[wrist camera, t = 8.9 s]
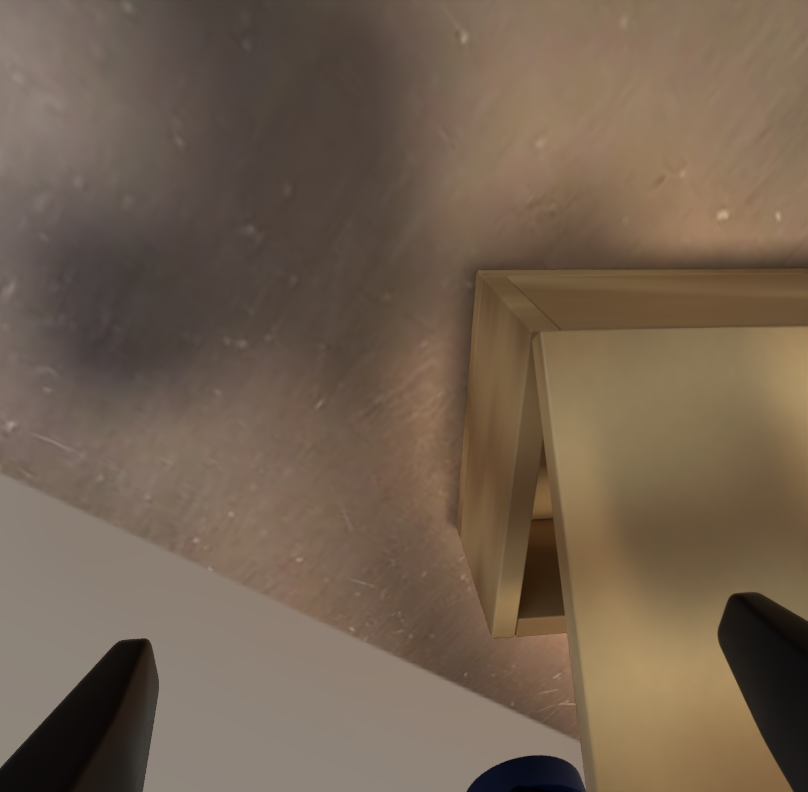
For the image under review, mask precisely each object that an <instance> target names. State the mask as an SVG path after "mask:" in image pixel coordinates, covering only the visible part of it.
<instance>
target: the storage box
mask: <svg viewBox="0 0 808 792" xmlns="http://www.w3.org/2000/svg"><path fill="white" fill-rule="evenodd" d="M778 326H808V268H793V269H604V270H479V271H477V274H476V287H475V299H474V312H473V324H472V337H471V349H470V362H469V374H468V387H467V399H466V412H465V424H464V437H463V450H462V462H461V475H460V487H459V500H458V512H457V525H456V527H457V530H458V533H459V536H460V540H461V543H462V546H463V549H464V552H465V556H466V559H467V562H468V565H469V568H470V571H471V574H472V578H473V581H474V584H475V587H476V590H477V593H478V596H479V599H480V603H481V606H482V609H483V612H484V615H485V618H486V621H487V624H488V628H489V631H490V634H491V637H492V638H505V637H514V636H516V637H521V636H533V635H546V634H558V633H567V627H566V619H565V611H564V603H563V594H562V586H561V578H560V570H559V561H558V553H557V545H556V537H555V528H554V520H553V512H552V504H551V495H550V487H549V479H548V471H547V463H546V454H545V446H544V438H543V430H542V421H541V413H540V405H539V397H538V388H537V380H536V372H535V364H534V355H533V347H532V340H533V338H534V337H535V336H536V335H537V334H538V333H539V332H540V331H556V330H611V329H667V328H722V327H778Z"/></svg>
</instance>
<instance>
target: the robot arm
mask: <svg viewBox="0 0 808 792" xmlns="http://www.w3.org/2000/svg"><path fill="white" fill-rule="evenodd" d="M717 636H718V641H719V645H720V647H721V650H722V652H723V654H724V656H725V658H726V660H727V663H728V665H729V667H730V669H731V671H732V673H733V676H734V678H735V680H736V682H737V684H738V686H739V689H740V691H741V693H742V695H743V697H744V699H745V702H746V704H747V706H748V708H749V710H750V712H751V715H752V717H753V719H754V721H755V723H756V725H757V727H758V729H759V731H760V733H761V735H762V737H763V739H764V741H765V743H766V745H767V747H768V748H769V750H770V752H771V754H772V756H773V758H774V759H775V761H776V763H777V764H778V766H779V768H780V770H781V771H782V773H783V775H784V777H785V778H786V780H787V782H788V784H789V785H790V787H791V789H792V791H793V792H808V621H807V620H805V619H804V618H802V617H800V616H799V615H797V614H795V613H793V612H792V611H790V610H788V609H786V608H785V607H783V606H781V605H780V604H778V603H776V602H774V601H773V600H771V599H769V598H768V597H766V596H764V595H762V594H760V593H757V592H744V593H734V594H732V595H731V596H730V597H729V598H728V600H727V603H726V606H725V609H724V612H723V615H722V618H721V621H720V624H719V627H718V632H717ZM158 691H159V679H158V673H157V669H156V664H155V659H154V654H153V650H152V646H151V643H150V641H149V640H148V639H145V638H144V639H143V638H142V639H129V640H121V641H119V642H117V643H116V644H115V645H114V646H113V647H112V648H111V649H110V650H109V651H108V652H107V653H106V654H105V656H104V657H103V658H102V659H101V660H100V661H99V662H98V663H97V664H96V665H95V666H94V667H93V669H92V670H91V671H90V672H89V673H88V674H87V675H86V676H85V677H84V678H83V679H82V680H81V681H80V682H79V684H78V685H77V686H76V687H75V688H74V689H73V690H72V691H71V692H70V693H69V694H68V695H67V697H66V698H65V699H64V700H63V701H62V702H61V703H60V704H59V705H58V706H57V707H56V708H55V709H54V711H53V712H52V713H51V714H50V715H49V716H48V717H47V718H46V719H45V720H44V721H43V723H42V724H41V725H40V726H39V727H38V728H37V729H36V730H35V731H34V732H33V733H32V734H31V735H30V736H29V738H28V739H27V740H26V741H25V742H24V743H23V744H22V745H21V746H20V747H19V748H18V749H17V750H16V752H15V753H14V754H13V755H12V756H11V757H10V758H9V759H8V760H7V761H6V762H5V764H4V765H3V766H2V767H1V768H0V792H143V786H144V780H145V774H146V768H147V761H148V755H149V749H150V743H151V736H152V730H153V724H154V717H155V711H156V704H157V698H158ZM510 792H550V791H545V790H540V789H536V788H531V787H526V786H516V787H514V788H512V789H511V790H510Z"/></svg>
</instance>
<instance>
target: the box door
mask: <svg viewBox="0 0 808 792" xmlns="http://www.w3.org/2000/svg"><path fill="white" fill-rule="evenodd" d="M532 347H533V355H534V364H535V372H536V380H537V388H538V397H539V405H540V413H541V421H542V430H543V438H544V446H545V454H546V463H547V471H548V479H549V487H550V495H551V504H552V512H553V520H554V528H555V537H556V545H557V553H558V561H559V570H560V578H561V586H562V594H563V603H564V611H565V619H566V627H567V635H568V644H569V652H570V660H571V668H572V677H573V685H574V693H575V701H576V710H577V718H578V726H579V734H580V743H581V750H582V759H583V767H584V775H585V784H586V792H793V791H792V789H791V787H790V785H789V784H788V782H787V780H786V778H785V777H784V775H783V773H782V771H781V770H780V768H779V766H778V764H777V763H776V761H775V759H774V758H773V756H772V754H771V752H770V750H769V748H768V747H767V745H766V743H765V741H764V739H763V737H762V735H761V733H760V731H759V729H758V727H757V725H756V723H755V721H754V719H753V717H752V715H751V712H750V710H749V708H748V706H747V704H746V702H745V699H744V697H743V695H742V693H741V691H740V689H739V686H738V684H737V682H736V680H735V678H734V676H733V673H732V671H731V669H730V667H729V665H728V663H727V660H726V658H725V656H724V654H723V652H722V650H721V647H720V645H719V641H718V636H717V632H718V627H719V624H720V621H721V618H722V615H723V612H724V609H725V606H726V603H727V600H728V598H729V597H730V596H731V595H732V594H734V593H744V592H757V593H760V594H762V595H764V596H766V597H768V598H769V599H771V600H773V601H774V602H776V603H778V604H780V605H781V606H783V607H785V608H786V609H788V610H790V611H792V612H793V613H795V614H797V615H799V616H800V617H802V618H804V619H805V620H807V621H808V326H778V327H722V328H667V329H611V330H556V331H540V332H539V333H538V334H537V335H536V336H535V337H534V338H533V340H532Z"/></svg>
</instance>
